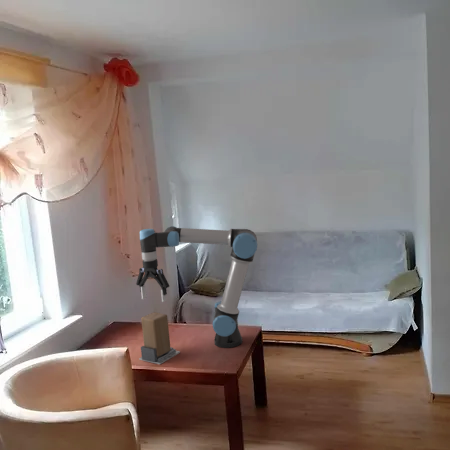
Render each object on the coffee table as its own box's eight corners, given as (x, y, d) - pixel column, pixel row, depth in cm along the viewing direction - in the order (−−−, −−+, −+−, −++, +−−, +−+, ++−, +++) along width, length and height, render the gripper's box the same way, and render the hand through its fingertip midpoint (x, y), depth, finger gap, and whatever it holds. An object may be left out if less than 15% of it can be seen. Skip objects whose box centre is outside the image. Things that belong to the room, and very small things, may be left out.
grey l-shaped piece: (179, 352, 286) (178, 339, 285) (159, 364, 273) (157, 350, 272) (159, 348, 294) (158, 335, 293) (138, 360, 281) (137, 346, 280)
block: (144, 353, 282) (140, 317, 278) (158, 347, 289) (154, 311, 286) (157, 357, 275) (153, 320, 272) (171, 350, 283) (167, 314, 279)
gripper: (173, 259, 272) (177, 299, 275) (136, 256, 285) (140, 295, 289) (163, 262, 265) (168, 304, 269) (126, 259, 279) (131, 299, 283)
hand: (154, 299), depth 279 cm, fingers open, 13 cm apart
